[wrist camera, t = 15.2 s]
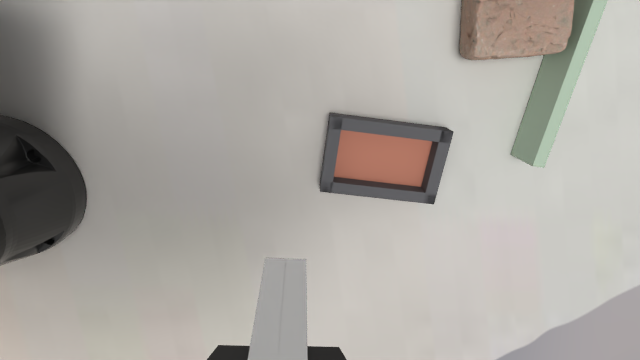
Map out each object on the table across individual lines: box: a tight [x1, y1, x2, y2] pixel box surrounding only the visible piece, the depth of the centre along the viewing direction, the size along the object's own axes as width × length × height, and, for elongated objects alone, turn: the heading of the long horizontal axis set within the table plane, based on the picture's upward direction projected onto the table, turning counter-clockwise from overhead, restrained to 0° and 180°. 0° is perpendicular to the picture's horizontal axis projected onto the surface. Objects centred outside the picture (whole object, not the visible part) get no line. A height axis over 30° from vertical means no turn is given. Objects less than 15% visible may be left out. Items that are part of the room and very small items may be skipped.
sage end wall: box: [511, 0, 608, 168], centre depth 31 cm, size 1×28×4 cm, turn 173°
